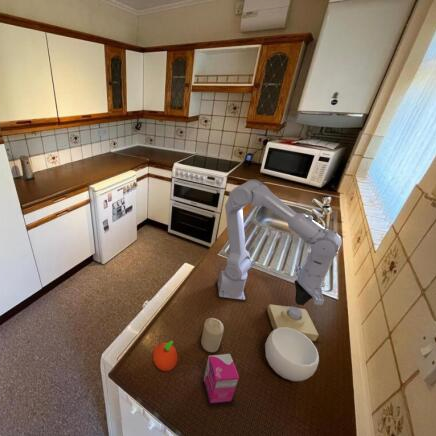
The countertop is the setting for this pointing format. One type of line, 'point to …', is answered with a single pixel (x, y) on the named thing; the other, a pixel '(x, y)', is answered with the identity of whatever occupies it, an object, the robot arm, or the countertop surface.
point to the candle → (212, 334)
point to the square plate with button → (292, 321)
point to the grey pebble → (294, 313)
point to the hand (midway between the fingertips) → (299, 303)
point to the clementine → (165, 356)
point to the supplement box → (220, 378)
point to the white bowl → (291, 354)
